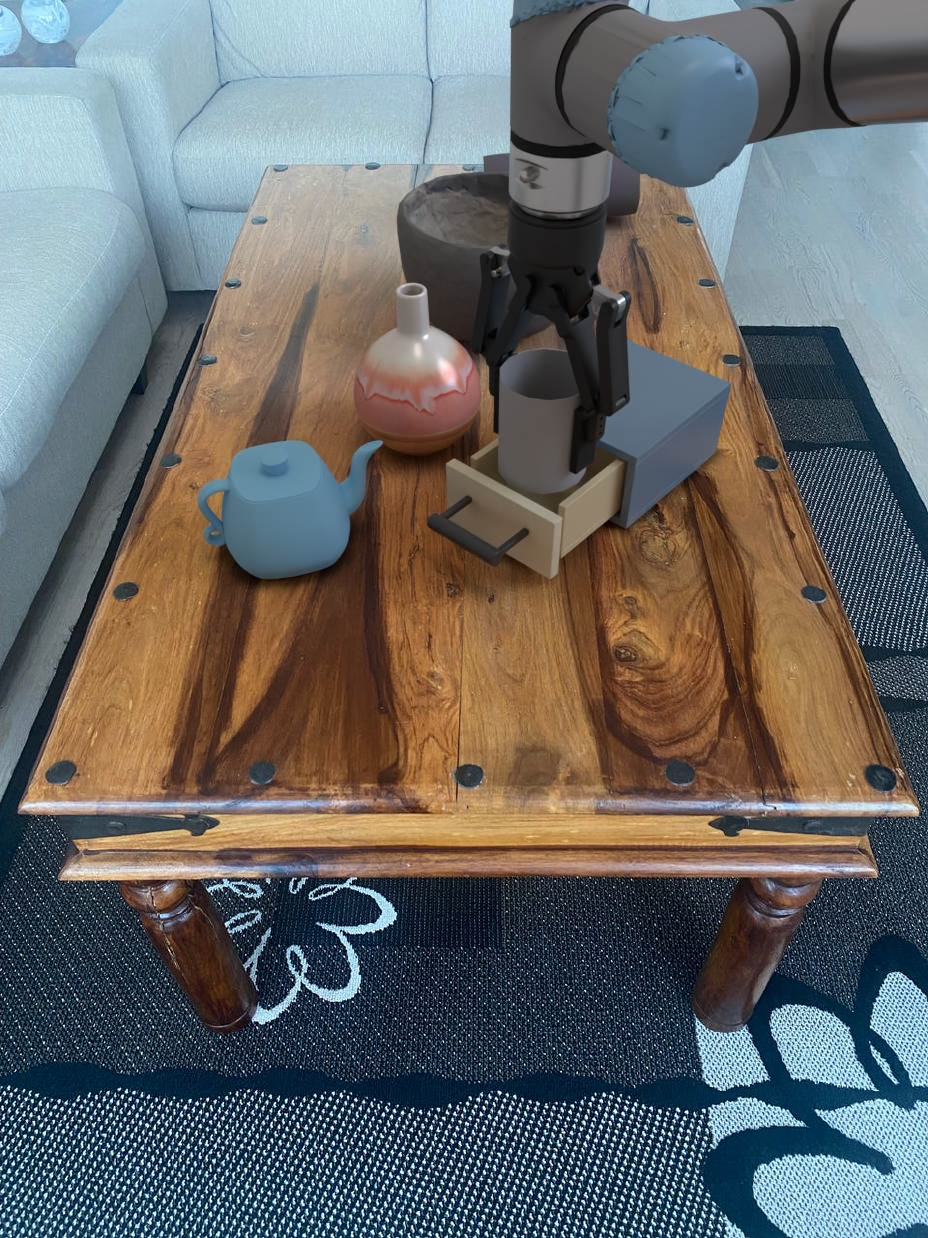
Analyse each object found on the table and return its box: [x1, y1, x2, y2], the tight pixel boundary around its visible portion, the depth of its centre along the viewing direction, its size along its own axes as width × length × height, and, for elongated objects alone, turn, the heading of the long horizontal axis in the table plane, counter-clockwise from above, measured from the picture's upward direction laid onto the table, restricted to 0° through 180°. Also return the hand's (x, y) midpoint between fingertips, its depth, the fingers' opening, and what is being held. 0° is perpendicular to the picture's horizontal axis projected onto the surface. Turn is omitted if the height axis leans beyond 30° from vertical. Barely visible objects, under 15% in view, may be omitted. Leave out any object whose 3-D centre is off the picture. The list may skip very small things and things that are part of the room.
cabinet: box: [596, 339, 732, 530], centre depth 96 cm, size 17×14×9 cm
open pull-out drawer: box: [426, 437, 628, 580], centre depth 89 cm, size 21×13×7 cm, turn 138°
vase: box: [352, 283, 482, 457], centre depth 96 cm, size 14×14×18 cm
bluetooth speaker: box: [482, 152, 641, 218], centre depth 137 cm, size 23×9×10 cm, turn 90°
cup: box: [497, 347, 586, 494], centre depth 84 cm, size 8×8×10 cm
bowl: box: [396, 171, 555, 343], centre depth 115 cm, size 24×24×15 cm
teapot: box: [196, 439, 383, 580], centre depth 87 cm, size 13×11×18 cm
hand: (542, 445), depth 86 cm, fingers closed on cup, 8 cm apart
